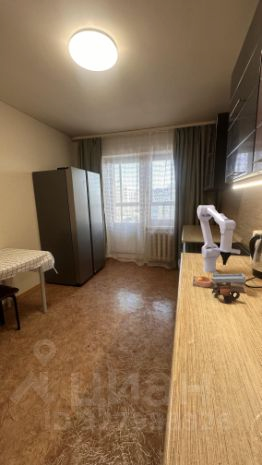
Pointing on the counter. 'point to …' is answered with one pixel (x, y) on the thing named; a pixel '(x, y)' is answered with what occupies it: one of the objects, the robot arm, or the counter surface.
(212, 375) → the counter surface
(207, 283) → the orange bowl
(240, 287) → the base
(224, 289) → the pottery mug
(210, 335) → the counter surface
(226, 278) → the lever
